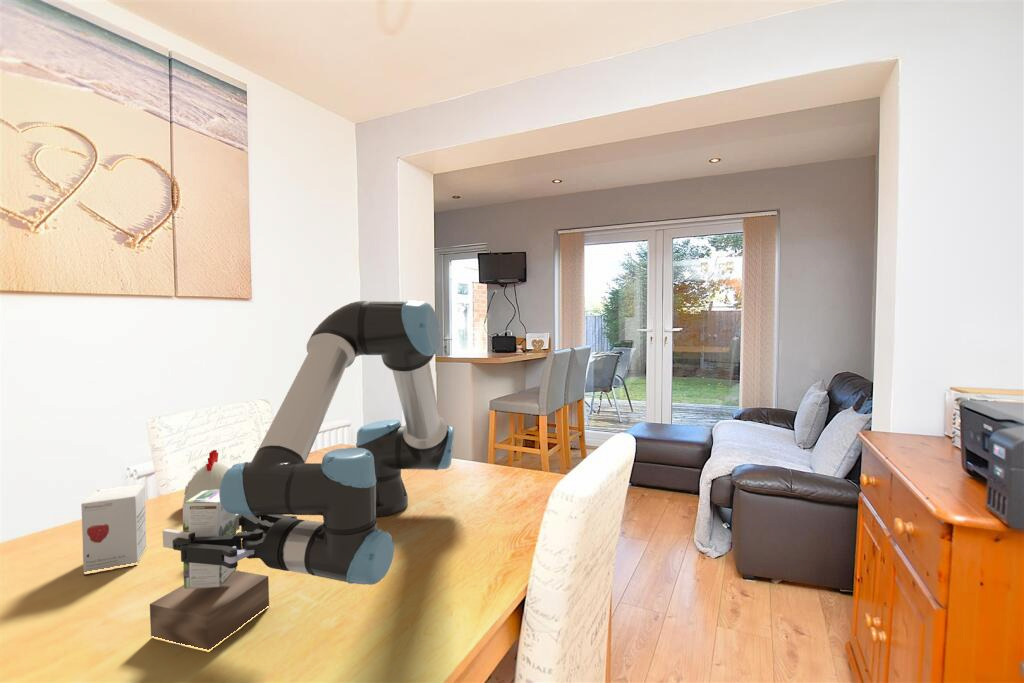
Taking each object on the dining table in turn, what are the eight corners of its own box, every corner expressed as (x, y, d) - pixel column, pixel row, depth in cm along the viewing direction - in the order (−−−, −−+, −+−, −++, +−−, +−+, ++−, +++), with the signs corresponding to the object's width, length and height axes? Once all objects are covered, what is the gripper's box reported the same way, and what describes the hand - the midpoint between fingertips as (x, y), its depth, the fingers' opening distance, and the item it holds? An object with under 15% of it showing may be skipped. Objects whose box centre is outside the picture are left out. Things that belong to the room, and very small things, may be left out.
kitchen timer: (247, 493, 140) (245, 443, 140) (235, 510, 127) (234, 456, 127) (193, 498, 136) (191, 447, 135) (175, 517, 123) (173, 461, 122)
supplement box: (81, 577, 94) (78, 503, 94) (96, 557, 102) (93, 489, 102) (138, 566, 98) (135, 495, 98) (148, 547, 106) (145, 482, 106)
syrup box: (203, 571, 82) (200, 489, 82) (238, 569, 83) (236, 488, 82) (183, 589, 76) (180, 502, 76) (221, 588, 77) (218, 501, 76)
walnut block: (151, 640, 76) (149, 604, 76) (216, 598, 87) (215, 566, 87) (209, 654, 73) (207, 616, 72) (269, 608, 84) (268, 576, 84)
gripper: (246, 605, 65) (126, 579, 71) (339, 540, 84) (238, 524, 90) (244, 552, 64) (124, 531, 71) (338, 498, 84) (237, 486, 90)
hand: (188, 527), depth 81 cm, fingers closed on syrup box, 7 cm apart
